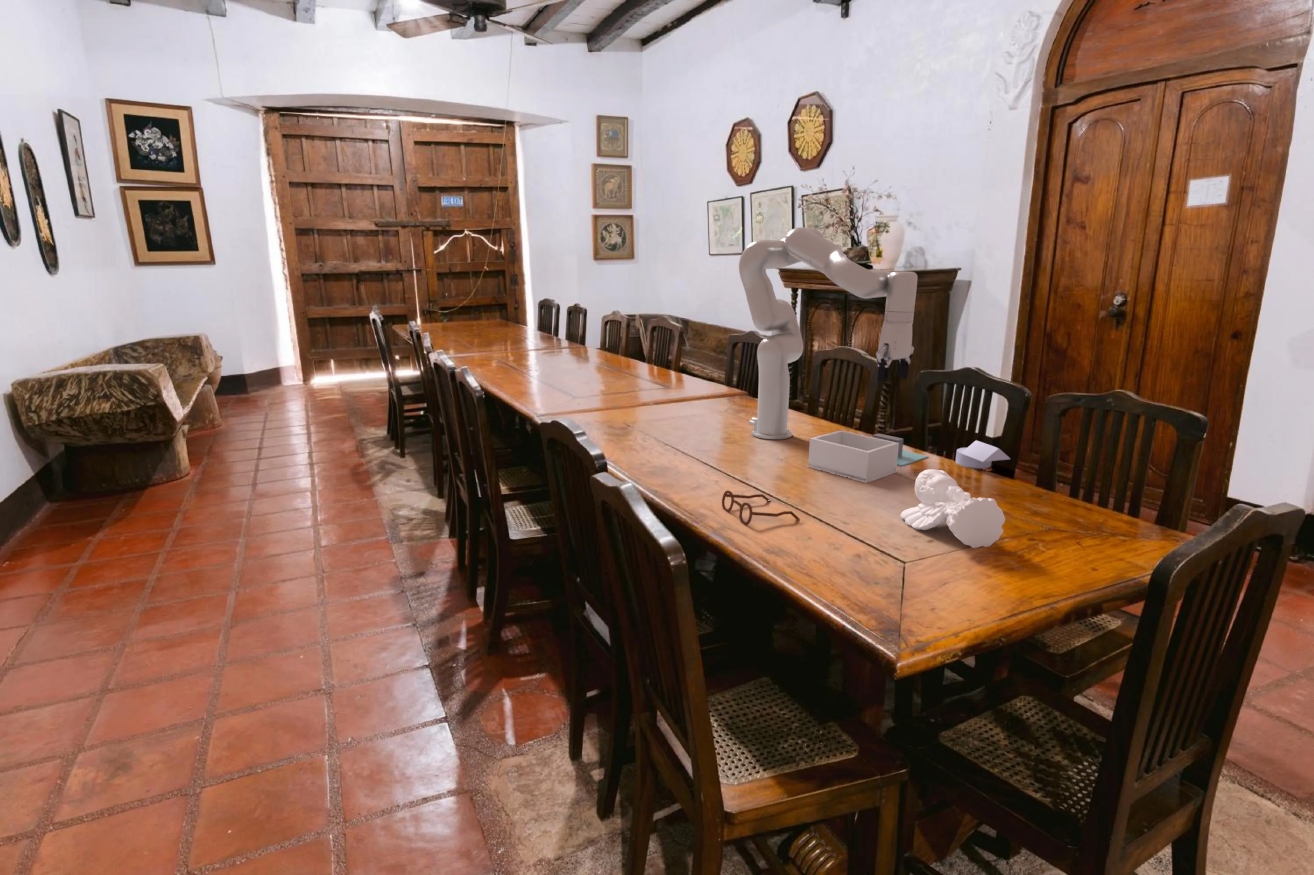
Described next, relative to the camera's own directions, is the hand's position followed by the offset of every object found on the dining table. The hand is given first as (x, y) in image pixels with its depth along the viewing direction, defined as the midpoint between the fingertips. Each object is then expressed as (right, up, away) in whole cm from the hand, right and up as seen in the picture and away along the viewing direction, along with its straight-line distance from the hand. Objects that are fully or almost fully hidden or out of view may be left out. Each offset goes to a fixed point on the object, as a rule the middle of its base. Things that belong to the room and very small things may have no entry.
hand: (892, 379), depth 198 cm
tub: (-14, -25, -9) cm, 30 cm away
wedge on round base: (+22, -24, -4) cm, 33 cm away
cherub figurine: (-6, -36, -50) cm, 62 cm away
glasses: (-43, -34, -40) cm, 68 cm away
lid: (0, -22, +6) cm, 23 cm away
